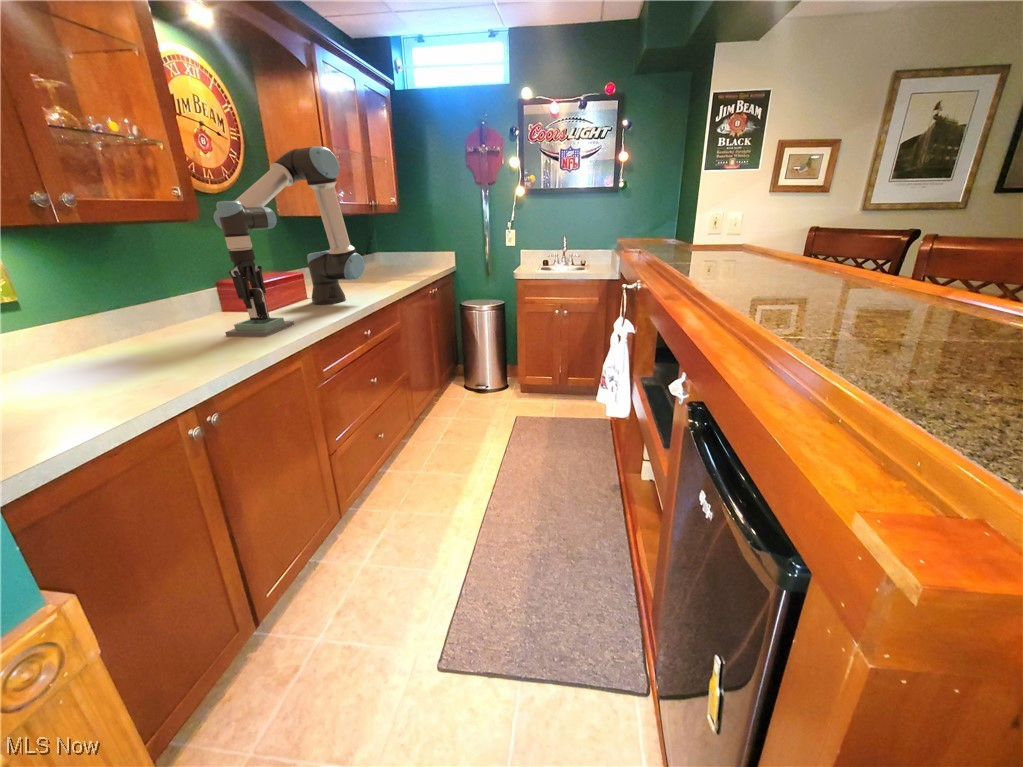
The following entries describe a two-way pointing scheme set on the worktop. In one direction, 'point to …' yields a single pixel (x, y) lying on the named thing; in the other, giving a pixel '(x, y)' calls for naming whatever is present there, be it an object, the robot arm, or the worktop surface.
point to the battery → (259, 304)
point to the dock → (259, 327)
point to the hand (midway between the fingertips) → (257, 315)
